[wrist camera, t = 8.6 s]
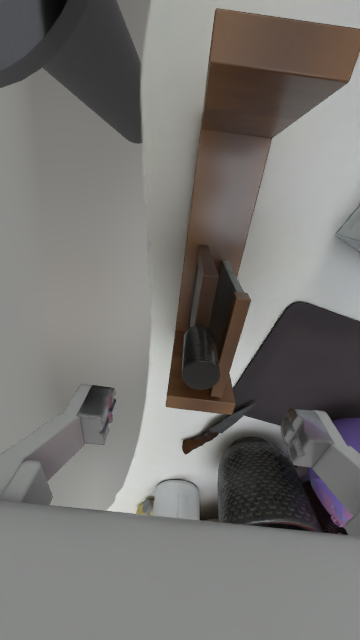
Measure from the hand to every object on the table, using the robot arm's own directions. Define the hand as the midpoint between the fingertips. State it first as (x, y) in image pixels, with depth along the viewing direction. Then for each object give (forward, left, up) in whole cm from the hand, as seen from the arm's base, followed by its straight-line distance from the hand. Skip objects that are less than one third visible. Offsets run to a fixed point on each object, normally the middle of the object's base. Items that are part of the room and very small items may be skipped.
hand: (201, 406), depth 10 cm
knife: (+5, -24, -16) cm, 30 cm away
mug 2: (+4, -49, -18) cm, 53 cm away
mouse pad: (+22, -14, -18) cm, 32 cm away
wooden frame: (+1, +3, -18) cm, 19 cm away
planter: (+15, -32, -18) cm, 40 cm away
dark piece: (0, 0, -16) cm, 16 cm away
